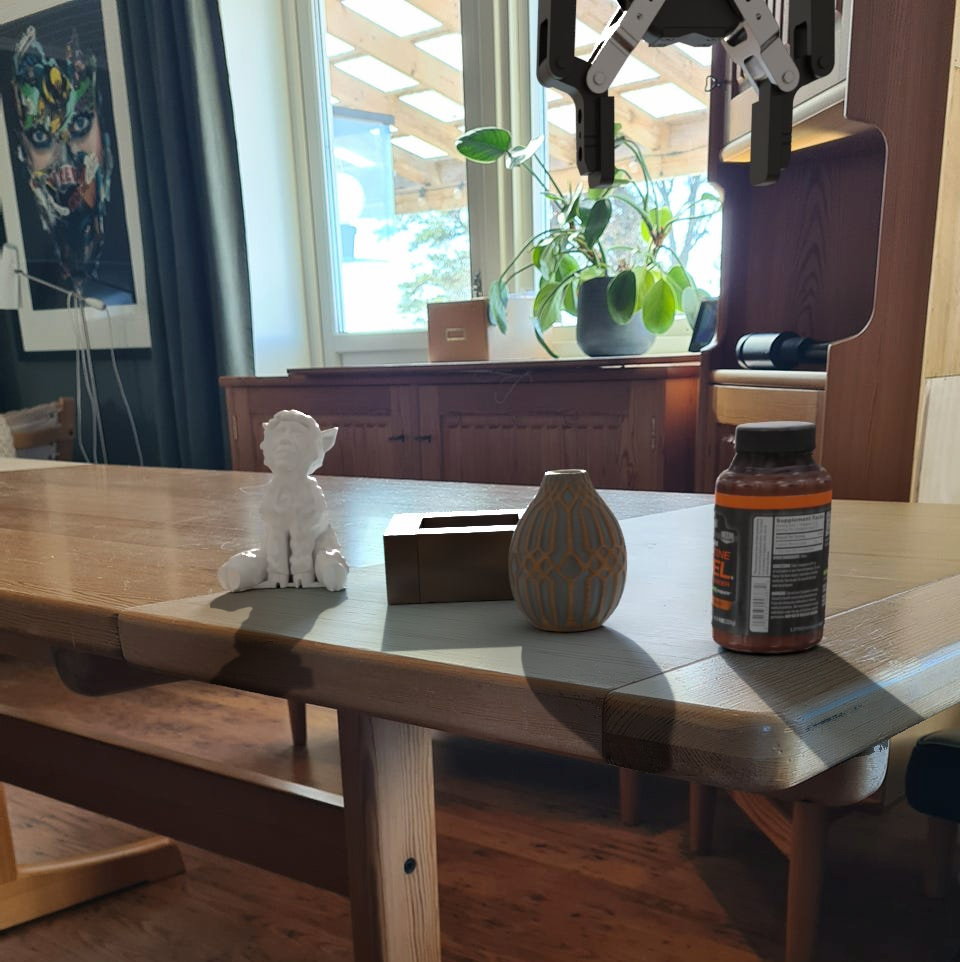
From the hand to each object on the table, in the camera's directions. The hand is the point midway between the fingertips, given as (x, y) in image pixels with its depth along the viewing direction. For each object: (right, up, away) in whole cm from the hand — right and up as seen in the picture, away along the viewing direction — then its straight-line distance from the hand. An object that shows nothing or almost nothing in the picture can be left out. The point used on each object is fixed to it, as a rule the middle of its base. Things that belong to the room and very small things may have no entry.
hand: (684, 185), depth 63 cm
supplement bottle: (+5, -22, +6) cm, 23 cm away
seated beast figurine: (-24, -13, +31) cm, 41 cm away
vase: (-5, -20, +13) cm, 24 cm away
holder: (-11, -14, +26) cm, 32 cm away
